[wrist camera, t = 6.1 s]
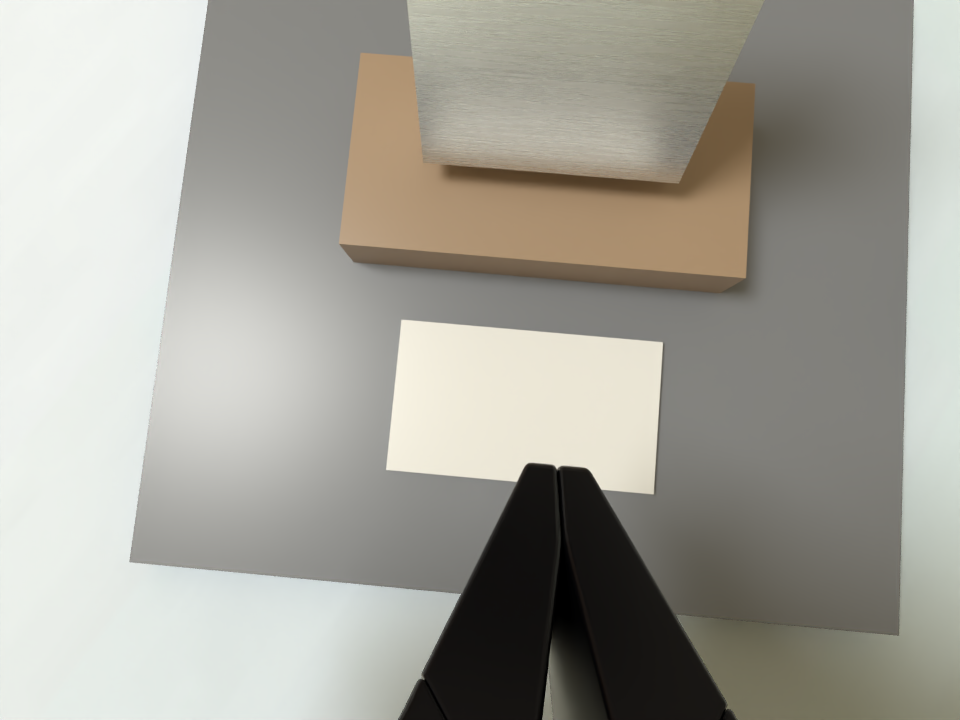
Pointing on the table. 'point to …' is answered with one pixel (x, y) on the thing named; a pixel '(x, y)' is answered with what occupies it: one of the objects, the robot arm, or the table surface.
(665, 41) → the bench scraper
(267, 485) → the board
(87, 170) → the table surface
